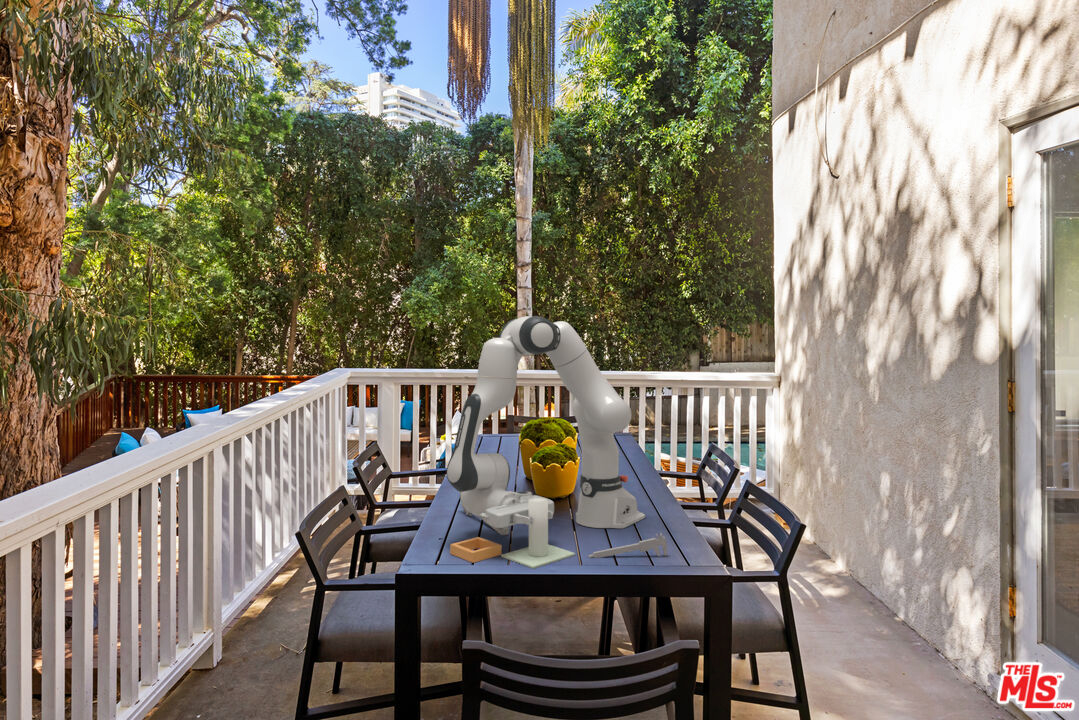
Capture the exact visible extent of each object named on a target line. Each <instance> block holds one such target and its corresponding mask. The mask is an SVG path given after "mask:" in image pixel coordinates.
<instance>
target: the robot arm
mask: <svg viewBox="0 0 1079 720" xmlns="http://www.w3.org/2000/svg"><path fill="white" fill-rule="evenodd" d="M481 349H482V350H481V353H480V357H479V361H478V366H477V367H478V368H477V377H476V383H475V386H474V388H473V391H472V392H471V395H469V396H467V398H466V400H465V401H464V405H463V408H462V411H461V415H460V419H459V424H458V428H457V433H456V437H455V442H454V446H453V450H452V452H451V455H450V459H449V461H448V462H447V465H446V466H447V467H446V478H447V480H448V482H449V483H450V485H451V487H452V488H453V489H455V490H456V491H457V492H459V491H460V492H461V494H460V503H461V504H462V505H463V507H464V508H465V509H466V510H467V511H468V512H470V513H472V515H474V516H476V517H479V518H480V519H481V518H482V519H485V521H486V522H485V521H484V522H485V523H486V524H487V525H488V524H489V525H488V526H490V525H491V526H494V527H496V528H504V527H507V526H508V527H511V526H514V525H518V524H519V525H522V524H523V525H527V526H529V524H532V523H533V518H532V517H530V516H529V508H528V500H529V499H531V498H546V497H545V496H544V497H543V496H540V495H536V494H534V495H533V492H531V491H511V490H509V491H508V487H509V483H510V479H511V467H510V464H509V462H508V459H507V458H506V457H505V456H504V455H503V454H501V453H499V452H496V453H495V452H494V453H493V452H492V453H487V452H486V453H475V450H476V444H477V440H478V436H479V433H480V432H479V431H480V427H481V424H482V423H483V422H484V420H485V419H486V418H488V417H489V416H490V415H492V414H494V413H496V412H499V411H501V410H503V409H504V408H506V407H507V406H509V404H510V403H511V402H512V401H513V399H514V398H515V395H516V390H517V381H518V380H517V377H518V368H519V363H520V361H521V360H522V358H523V357H525V356H533V355H542V354H545V355H546V356H547V357H548V358H549V361H550V362H551V365H552V366H553V368H554V369H555V371H556V373H557V374H558V376H559V378H560V379H561V382H562V384H563V385H564V387H565V388H566V389H567V391H569V393H570V394H571V395H572V396H573V397H574V400H573V403H572V412H573V415H574V417H575V421H576V424H577V429H578V435H579V440H580V447H581V474H580V476H579V477H580V478H579V486H580V490H579V496H578V505H577V511H576V512H575V522H576V523H577V524H578V525H581V526H584V527H588V528H594V529H595V528H596V529H624V528H627V527H629V526H632V525H633V524H635V523H637V522H640V521H641V520H644V519H645V518H646V515H645V513H643V512H641V511H639V510H638V502H637V499H636V497H635V496H634V495H632V494H631V493H630V492H629V491H628V490H627V489H625V488H624V487H623V483H628V481H629V477H628V475H623V474H621V475H620V474H619V471H620V470H619V469H620V467H619V466H620V465H619V464H620V463H619V462H620V461H619V460H620V459H619V457H620V450H619V447H618V445H617V443H616V440H615V436H614V434H615V433H620V432H622V431H624V430H626V429H627V428H628V426H629V425H630V424H631V420H632V410H631V407H630V406H629V404H628V403H627V402H626V401H625V400H624V399H623V398H622V397H621V396H620V395H619V393H618V392H617V391H616V389H615V388H614V387H613V385H612V384H611V383H610V382H609V381H608V379H607V378H606V377H605V376H604V375H603V373H602V372H601V370H600V368H598V366H597V363H596V362H595V360H594V359H593V357H592V355H591V353H590V351H589V349H588V347H587V346H586V345H585V342H584V341H583V340H582V338H581V337H580V335H579V333H577V331H576V330H575V329H574V328H573V326H572V325H571V324H570V323H568V322H567V321H563V320H562V321H561V320H560V321H554V322H552V321H551V320H549V319H547V318H545V317H543V316H538V315H533V316H529V315H528V316H527V315H525V316H522V317H519V318H514V319H511V320H509V321H508V322H507V323H506V324H504V326H503V327H502V328H501V331H500V333H499V334H498V336H497V337H493V338H490V339H489V340H487V341H485V343H484V344H483V345H482V348H481ZM546 499H548V520H551V519H553V518H554V517H553V516H554V514H555V503H554V501H553V500H551V499H549V498H546ZM482 519H481V520H482ZM491 526H490V527H491Z"/></svg>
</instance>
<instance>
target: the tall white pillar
mask: <svg viewBox="0 0 1079 720" xmlns="http://www.w3.org/2000/svg"><path fill="white" fill-rule="evenodd" d="M548 499H549V498H547V499H546V497H544V498H531V499H529V500H528V508H529V516H530V517H532V518H533V523H532V524H529V525H528V547H529V555H530V556H534V557H542V556H546V555H548V544H549V519H548Z"/></svg>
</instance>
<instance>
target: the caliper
mask: <svg viewBox="0 0 1079 720" xmlns="http://www.w3.org/2000/svg"><path fill="white" fill-rule="evenodd" d="M655 535H656V537H657V538H656V537H652V538H648V539H644V540H640V541H638V543H637V542H635V543H632V544H627V545H622V546H618V547H612V548H607V549H602V550H597V551H593V552H592V554H589V555H588V558H589V559H590V558H594V559H599V558H600V559H601V558H606V557H609V556H616V555H618V554H619V555H620V554H623V553H625V554H626V553H629V552H635V551H639V550H640V552H641V553H644V552H648V551H650V550H651V549H653V551H655V555H656V556H657V557H658V556H660V557H661V553H660V549H659V548H660V547H659V546H661V547H662V548H661V549H662V552H663V555H665V556H664V557H667V556H668V544H667V539H666V537H665V536H663V533H662V532H660V533H659V534H658V533H655Z"/></svg>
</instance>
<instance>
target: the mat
mask: <svg viewBox="0 0 1079 720" xmlns="http://www.w3.org/2000/svg"><path fill="white" fill-rule="evenodd" d="M500 556H501V557H500V558H503V559H506V560H508V561H512V562H514V563H516V562H517V563H516V564H519V563H520V565H522V566H525V567H527V568H530V569H532V570H533V569H534V570H535V569H537V568H540V567H543V566H547V565H549V564H551V563H555V562H559V561H561V560H564V559H568V558H571V557H574V556H576V553H575V552H572V551H570V550H566V549H564V548H560V547H557V546H555V545H552V544H549V543H548V555H546V556H542V557H534V556H530V555H529V546H527V547H524V548H520V549H517V550H513V551H510V552H507V553H504V554H503V553H501V555H500Z"/></svg>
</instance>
